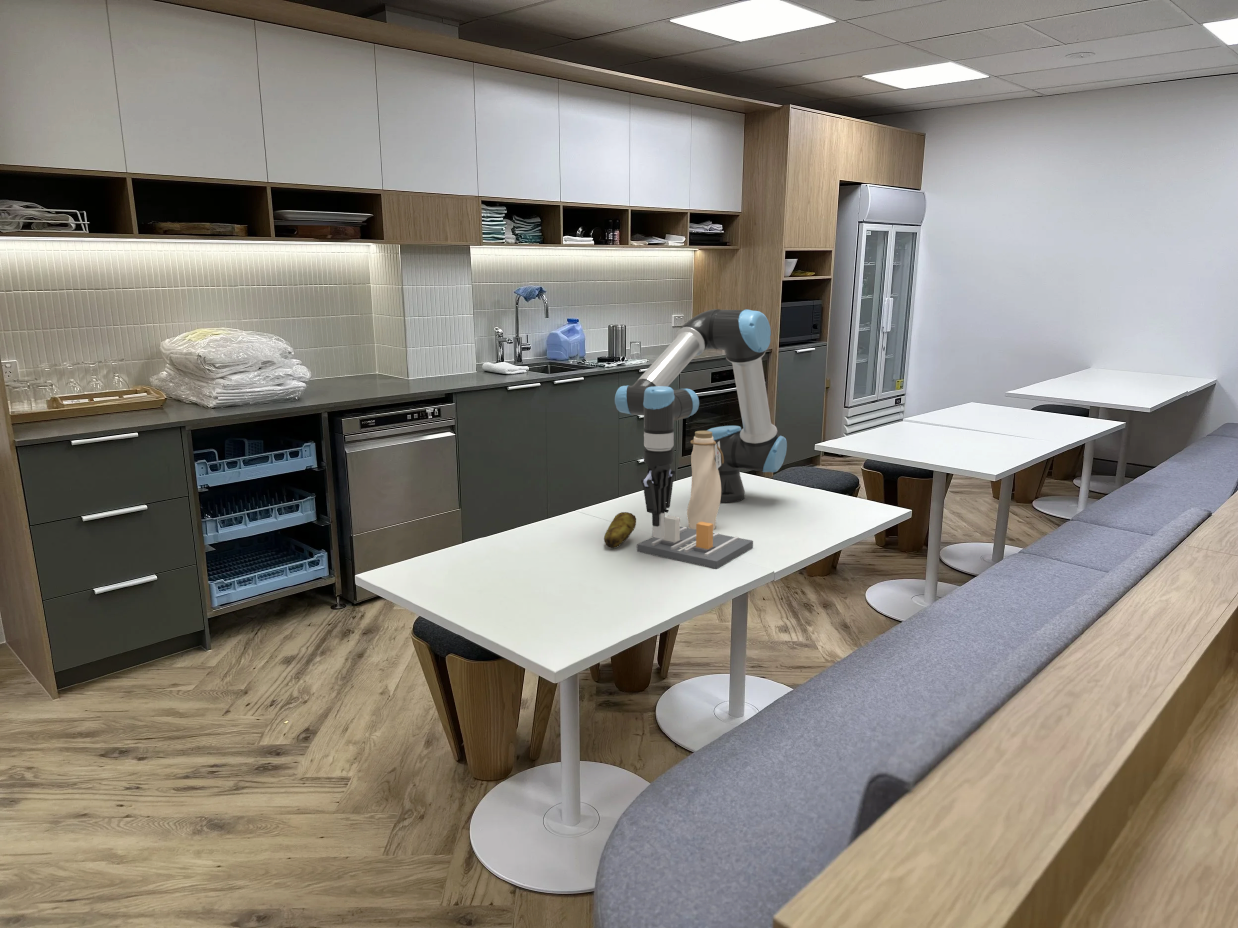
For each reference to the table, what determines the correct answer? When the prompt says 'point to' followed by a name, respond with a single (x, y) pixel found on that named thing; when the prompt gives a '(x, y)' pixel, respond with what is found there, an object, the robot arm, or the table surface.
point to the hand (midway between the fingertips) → (658, 536)
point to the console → (685, 551)
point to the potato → (620, 529)
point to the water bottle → (704, 480)
